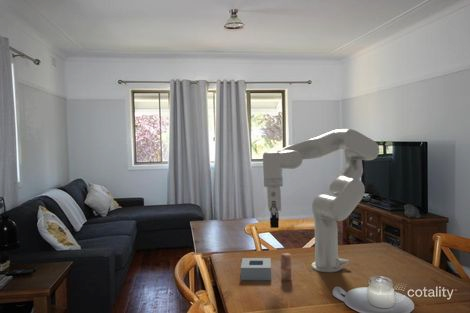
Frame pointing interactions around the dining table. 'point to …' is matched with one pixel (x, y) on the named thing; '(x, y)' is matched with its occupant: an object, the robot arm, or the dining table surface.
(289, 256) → the peg
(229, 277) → the dining table surface
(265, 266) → the socket block
